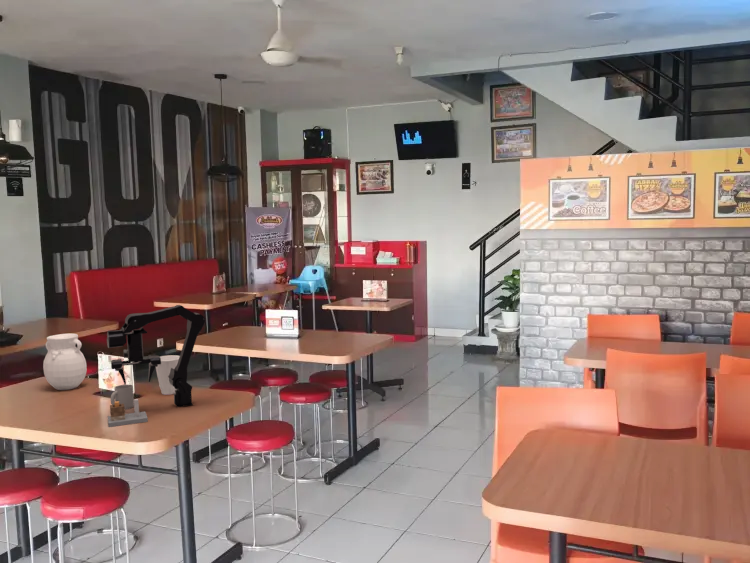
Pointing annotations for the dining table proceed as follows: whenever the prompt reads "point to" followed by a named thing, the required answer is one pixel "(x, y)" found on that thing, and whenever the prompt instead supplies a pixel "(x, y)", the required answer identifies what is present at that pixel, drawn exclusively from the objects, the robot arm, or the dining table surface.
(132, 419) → the pin board
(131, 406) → the cup
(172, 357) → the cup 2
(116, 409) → the sleeve
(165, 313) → the robot arm
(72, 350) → the white handled vase
